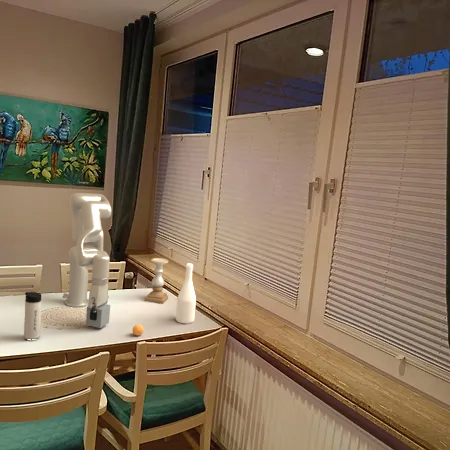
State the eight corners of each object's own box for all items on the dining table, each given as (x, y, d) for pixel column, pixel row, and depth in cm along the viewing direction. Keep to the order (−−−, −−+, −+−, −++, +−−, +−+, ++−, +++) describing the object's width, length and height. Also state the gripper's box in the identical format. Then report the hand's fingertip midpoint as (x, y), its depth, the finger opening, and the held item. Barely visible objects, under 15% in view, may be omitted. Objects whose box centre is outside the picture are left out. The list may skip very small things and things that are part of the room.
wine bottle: (186, 316, 230) (191, 261, 226) (197, 322, 223) (203, 265, 219) (171, 319, 223) (176, 262, 219) (183, 325, 217) (188, 267, 213)
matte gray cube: (85, 324, 201) (86, 306, 200) (94, 319, 209) (95, 302, 207) (100, 328, 199) (101, 309, 198) (108, 322, 207) (110, 305, 206)
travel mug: (26, 334, 188) (27, 290, 185) (41, 335, 188) (43, 291, 186) (20, 340, 182) (22, 294, 179) (36, 341, 182) (38, 295, 180)
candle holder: (150, 296, 259) (153, 256, 255) (168, 298, 257) (171, 259, 254) (144, 301, 248) (147, 260, 245) (163, 303, 246) (166, 263, 243)
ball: (130, 325, 197) (140, 327, 195) (135, 322, 201) (145, 323, 200) (130, 336, 197) (140, 338, 196) (135, 332, 202) (145, 334, 201)
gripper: (102, 275, 211) (100, 310, 213) (82, 284, 194) (80, 321, 196) (116, 277, 209) (114, 312, 211) (97, 286, 192) (95, 324, 194)
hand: (97, 316), depth 204 cm, fingers closed on matte gray cube, 7 cm apart
